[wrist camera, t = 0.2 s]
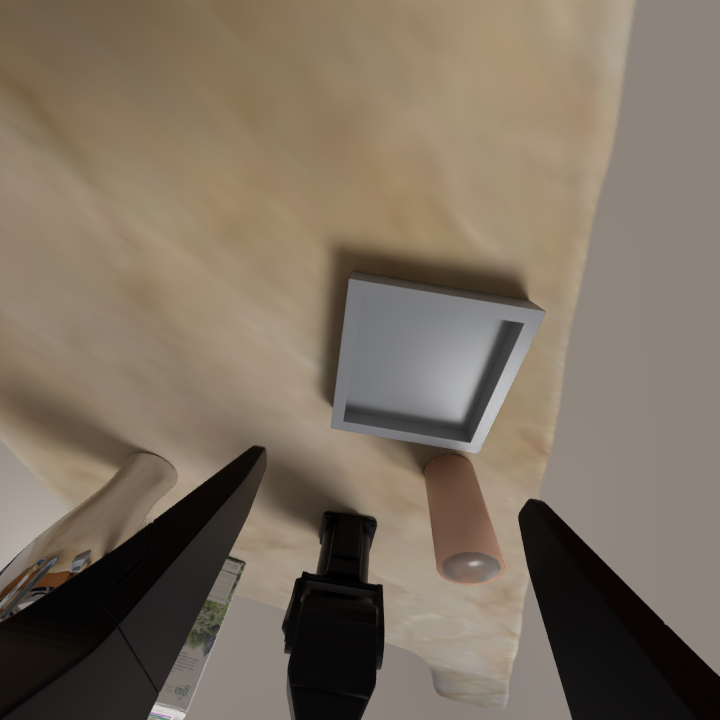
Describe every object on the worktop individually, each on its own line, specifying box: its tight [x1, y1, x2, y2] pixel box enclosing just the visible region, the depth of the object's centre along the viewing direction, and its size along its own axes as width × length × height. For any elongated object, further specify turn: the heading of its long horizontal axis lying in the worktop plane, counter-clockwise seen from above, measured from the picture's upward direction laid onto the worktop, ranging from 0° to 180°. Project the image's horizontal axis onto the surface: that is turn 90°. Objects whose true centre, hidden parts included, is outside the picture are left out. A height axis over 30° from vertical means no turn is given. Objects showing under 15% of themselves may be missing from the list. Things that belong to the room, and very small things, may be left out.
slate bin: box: [331, 271, 546, 453], centre depth 23 cm, size 13×13×2 cm
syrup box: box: [148, 557, 246, 720], centre depth 36 cm, size 6×6×14 cm
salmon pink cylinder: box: [424, 454, 505, 585], centre depth 26 cm, size 5×5×9 cm
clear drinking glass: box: [0, 452, 178, 622], centre depth 27 cm, size 7×7×15 cm
